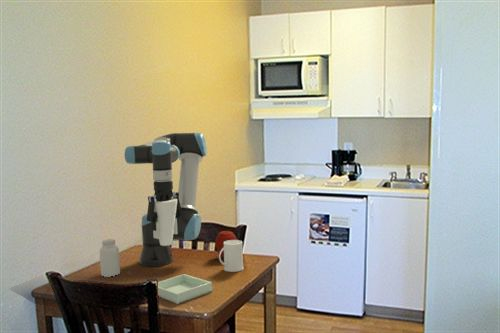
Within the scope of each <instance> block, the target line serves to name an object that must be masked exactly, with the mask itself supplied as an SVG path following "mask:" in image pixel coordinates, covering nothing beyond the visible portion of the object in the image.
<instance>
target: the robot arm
mask: <svg viewBox="0 0 500 333" xmlns="http://www.w3.org/2000/svg"><path fill="white" fill-rule="evenodd" d="M207 148H208V147H207V142H206V138H205V136H204V134H203V133H202V132H182V133H180V132H179V133H177V132H175V133H169V134H164V135H162V136H158V137H156V138H154V139H153V140H152V141H149V142H146V143H143V144H139V145H130V146H127V147H126V148H125V149H124V159H125V162H126V163H127V164H129V165H130V164H131V165H139V164H140V165H143V164H145V165H146V164H147V165H148V164H152V180H153V191H154V194H153V195H152V196H151V195H149V196H147V201H148V204H147V206H148V207H147V213H145V214H143V215H142V217H141V225H140V226H141V235H142V247H141V248H142V249H141V252H140V257H139V264H140V265H142V266H144V267H160V266H167V265H169V264H171V263H172V262H174V258H173V257H174V255H173V254H172V250H171V247H170V245H167V246H162V245H160V241H159V225H158V222H157V218H158V215H157V212H154V205H155V199H156V201H160V202H162V201H166V200H172V199H171V198H175V199H177V207H176V213H175V224H174V232H173V241H191V240H196V239H197V238H198V237H199V234H200V231H201V226H202V216H201V214H199V212H198V210H197V208H196V200H197V191H198V190H197V188H198V178H199V177H198V176H199V166H200V163H201V162H203V157H206V156H207V155H208V152H207V151H208V150H207ZM178 160H179V161H180V169H179V171H180V172H179V180H178V187H177V188H178V189H177V190H178V191H177V192H176V191H173V189H174V183H173V164H174V163H175V162H176V161H178Z"/></svg>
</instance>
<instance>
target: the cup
mask: <svg viewBox="0 0 500 333" xmlns="http://www.w3.org/2000/svg"><path fill="white" fill-rule="evenodd" d="M171 199H172V200H166V201H162V202H160V201H156V199H155V205H154V212H157V215H158V218H157V222H158V225H159V241H160V245H162V246H167V245H169V246H170V245H173V241H174V240H173V232H174V224H175V213H176V207H177V199H175V198H173V197H172V198H171Z"/></svg>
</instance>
